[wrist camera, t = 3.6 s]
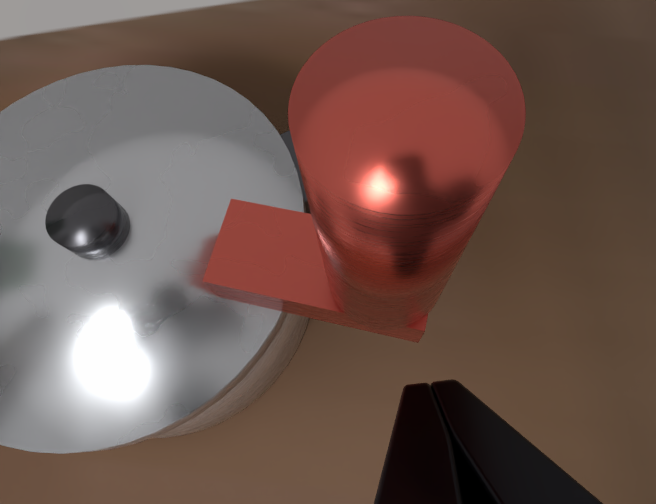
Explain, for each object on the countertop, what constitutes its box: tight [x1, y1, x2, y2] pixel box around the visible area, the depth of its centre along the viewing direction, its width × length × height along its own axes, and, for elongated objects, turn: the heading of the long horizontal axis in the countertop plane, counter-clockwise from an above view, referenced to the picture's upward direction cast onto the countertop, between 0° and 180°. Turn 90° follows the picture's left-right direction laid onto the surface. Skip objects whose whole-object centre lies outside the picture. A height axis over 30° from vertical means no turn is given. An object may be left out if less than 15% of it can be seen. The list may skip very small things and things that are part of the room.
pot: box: [153, 130, 311, 438], centre depth 17 cm, size 16×11×4 cm
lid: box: [0, 16, 526, 454], centre depth 10 cm, size 15×12×8 cm
